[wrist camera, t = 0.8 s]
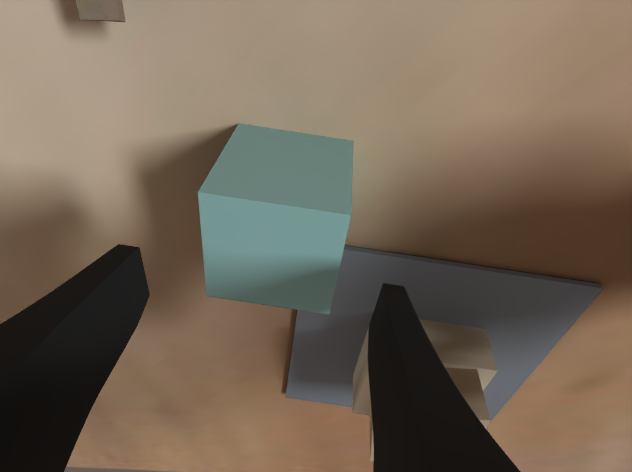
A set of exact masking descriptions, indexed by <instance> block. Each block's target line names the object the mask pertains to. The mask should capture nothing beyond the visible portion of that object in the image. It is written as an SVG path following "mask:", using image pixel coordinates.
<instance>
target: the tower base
mask: <svg viewBox="0 0 632 472" xmlns="http://www.w3.org/2000/svg"><path fill="white" fill-rule="evenodd" d="M419 320H420V322H421V324H422V326H423V328H424V330H425V332H426V334H427V336H428V338H429V339H430V341H431V343H432V345H433V347H434V349H435V351H436V352H437V354H438V356H439V358H440V360H441V361H442V363H443V365H444V367H445V368H464V369H477V370H478V374H479V378H480V382H481V386H482V390H484V389H485V388H486V386H487V385H488V384H489V382H490V381H491V380H492V378H493V377H494V376H495V374H496V373H497V371H498V369H497V366H496V363H495V359H494V356H493V353H492V349H491V346H490V343H489V340H488V336H487V333H486V330H485V329H482V328H476V327H469V326H462V325H456V324H449V323H442V322H436V321H429V320H422V319H419ZM368 332H369V327H368V330H367V334H366V337H365V340H364V343H363V346H362V349H361V352H360V355H359V358H358V361H357V364H356V367H355V370H354V373H353V413H356V414H363V415H369V416H370V386H369V373H368Z"/></svg>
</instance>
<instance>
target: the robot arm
mask: <svg viewBox="0 0 632 472" xmlns="http://www.w3.org/2000/svg"><path fill="white" fill-rule="evenodd" d="M149 295H150V294H149V289H148V285H147V280H146V276H145V271H144V266H143V262H142V257H141V252H140V248H139V247H133V246H127V245H120V244H119V245H117V246H116V247H114V248H113V249H111V250H110V251H108V252H107V253H106V254H104V255H103V256H102V257H100V258H99V259H97V260H96V261H95V262H93V263H92V264H90V265H89V266H88V267H86V268H85V269H83V270H82V271H81V272H79V273H78V274H76V275H75V276H74V277H72V278H71V279H69V280H68V281H66V282H65V283H64V284H62V285H61V286H59V287H58V288H56V289H55V290H54V291H52V292H51V293H49V294H48V295H46V296H44V297H43V298H41V299H40V300H38V301H37V302H35V303H34V304H32V305H30V306H29V307H27V308H26V309H24V310H23V311H21V312H20V313H18V314H16V315H15V316H13V317H12V318H10V319H8V320H7V321H5V322H3V323H1V324H0V472H64V470H65V468H66V465H67V463H68V460H69V458H70V456H71V453H72V451H73V449H74V446H75V444H76V441H77V439H78V437H79V435H80V432H81V430H82V428H83V426H84V423H85V421H86V419H87V417H88V414H89V412H90V410H91V408H92V406H93V404H94V402H95V400H96V398H97V396H98V394H99V393H100V391H101V389H102V387H103V385H104V384H105V382H106V380H107V378H108V377H109V375H110V373H111V371H112V370H113V368H114V366H115V364H116V363H117V361H118V359H119V357H120V356H121V354H122V352H123V350H124V349H125V347H126V345H127V343H128V342H129V340H130V338H131V336H132V334H133V333H134V331H135V329H136V327H137V325H138V323H139V320H140V318H141V316H142V313H143V311H144V308H145V306H146V303H147V300H148V298H149ZM368 373H369V386H370V399H371V411H372V424H373V441H374V472H520V471H519V469H518V468H517V467H516V466H515V465H514V463H513V462H512V461H511V460H510V458H509V457H508V456H507V455H506V454H505V452H504V451H503V450H502V449H501V447H500V446H499V445H498V444H497V443H496V441H495V440H494V439H493V438H492V436H491V435H490V434H489V432H488V431H487V430H486V428H485V427H484V425H483V424H482V423H481V421H480V420H479V419H478V417H477V416H476V415H475V413H474V412H473V410H472V409H471V407H470V406H469V404H468V403H467V402H466V400H465V399H464V397H463V396H462V394H461V393H460V391H459V389H458V388H457V386H456V385H455V383H454V382H453V380H452V378H451V377H450V375H449V373H448V372H447V370H446V368H445V367H444V365H443V363H442V361H441V360H440V358H439V356H438V354H437V352H436V351H435V349H434V347H433V345H432V343H431V341H430V339H429V338H428V336H427V334H426V332H425V330H424V328H423V326H422V324H421V322H420V320H419V317H418V315H417V313H416V311H415V309H414V307H413V304H412V302H411V300H410V298H409V295H408V293H407V290H406V289H405V287H404V286H400V285H393V284H386V283H383V285H382V288H381V291H380V294H379V297H378V300H377V303H376V306H375V309H374V312H373V315H372V318H371V321H370V324H369V332H368Z"/></svg>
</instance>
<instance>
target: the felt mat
mask: <svg viewBox="0 0 632 472" xmlns="http://www.w3.org/2000/svg"><path fill="white" fill-rule="evenodd" d="M383 283H386V284H393V285H400V286H404V287H405V289H406V290H407V293H408V295H409V298H410V300H411V302H412V304H413V307H414V309H415V311H416V313H417V315H418V317H419V319H422V320H429V321H436V322H442V323H449V324H456V325H462V326H469V327H476V328H482V329H485V330H486V333H487V336H488V340H489V343H490V346H491V349H492V353H493V356H494V359H495V363H496V366H497V369H498V371H497V373H496V374H495V376H494V377H493V378H492V380H491V381H490V382H489V384H488V385H487V386H486V388H485V389H484V390H483V394H484V397H485V401H486V405H487V409H488V413H489V417H490V422H491V420H492V419H493V418H494V417H495V416H496V415H497V413H498V412H499V411H500V410H501V409H502V407H503V406H504V405H505V404H506V403H507V402H508V400H509V399H510V398H511V397H512V396H513V395H514V393H515V392H516V391H517V390H518V389H519V387H520V386H521V385H522V384H523V383H524V382H525V380H526V379H527V378H528V377H529V376H530V374H531V373H532V372H533V371H534V370H535V369H536V367H537V366H538V365H539V364H540V363H541V361H542V360H543V359H544V358H545V357H546V356H547V354H548V353H549V352H550V351H551V350H552V348H553V347H554V346H555V345H556V344H557V343H558V341H559V340H560V339H561V338H562V337H563V335H564V334H565V333H566V332H567V331H568V330H569V328H570V327H571V326H572V325H573V324H574V323H575V321H576V320H577V319H578V318H579V317H580V315H581V314H582V313H583V312H584V311H585V310H586V308H587V307H588V306H589V305H590V304H591V302H592V301H593V300H594V299H595V298H596V297H597V295H598V294H599V293H600V292H601V291H602V289H603V288H602V286H601V284H597V283H590V282H584V281H577V280H570V279H564V278H557V277H550V276H544V275H537V274H531V273H524V272H517V271H511V270H504V269H497V268H491V267H484V266H478V265H471V264H464V263H458V262H451V261H444V260H438V259H431V258H424V257H418V256H411V255H405V254H398V253H391V252H385V251H378V250H371V249H365V248H358V247H351V246H344V250H343V255H342V259H341V264H340V268H339V273H338V277H337V282H336V287H335V291H334V296H333V300H332V305H331V309H330V314H323V313H316V312H310V311H303V310H297V317H296V324H295V332H294V339H293V346H292V353H291V360H290V368H289V375H288V382H287V389H286V397H287V398H294V399H300V400H307V401H314V402H321V403H327V404H334V405H341V406H347V407H353V373H354V370H355V367H356V364H357V361H358V358H359V355H360V352H361V349H362V346H363V343H364V340H365V337H366V334H367V330H368V327H369V324H370V321H371V318H372V315H373V312H374V309H375V306H376V303H377V300H378V297H379V294H380V291H381V288H382V285H383ZM490 422H489V423H490Z"/></svg>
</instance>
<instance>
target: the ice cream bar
mask: <svg viewBox="0 0 632 472" xmlns="http://www.w3.org/2000/svg"><path fill="white" fill-rule="evenodd" d="M75 2H76V6H77V9H78V13H79V17H80V20H97V21H114V22H125V16H124V10H123V4H122V0H75Z"/></svg>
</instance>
